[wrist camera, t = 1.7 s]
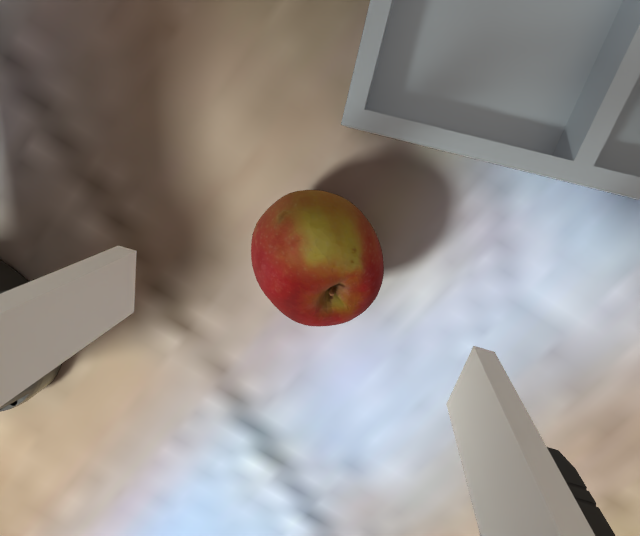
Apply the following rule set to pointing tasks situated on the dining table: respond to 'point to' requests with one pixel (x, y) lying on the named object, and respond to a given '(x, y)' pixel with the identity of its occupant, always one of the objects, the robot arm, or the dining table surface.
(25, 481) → the dining table surface
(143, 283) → the dining table surface
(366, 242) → the apple
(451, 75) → the tray
